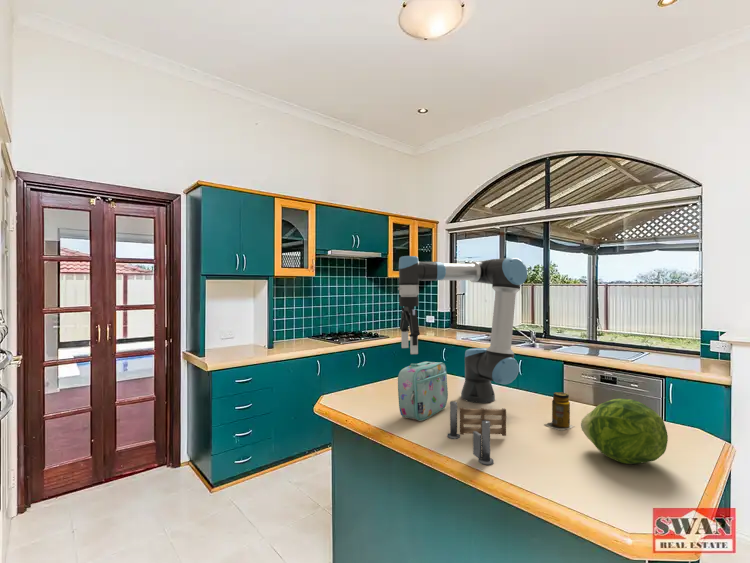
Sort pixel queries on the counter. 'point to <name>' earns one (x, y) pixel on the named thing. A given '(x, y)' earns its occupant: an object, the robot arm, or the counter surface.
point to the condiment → (560, 412)
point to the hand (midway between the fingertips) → (409, 350)
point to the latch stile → (482, 444)
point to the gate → (479, 420)
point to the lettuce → (626, 431)
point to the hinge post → (453, 421)
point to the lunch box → (422, 390)
